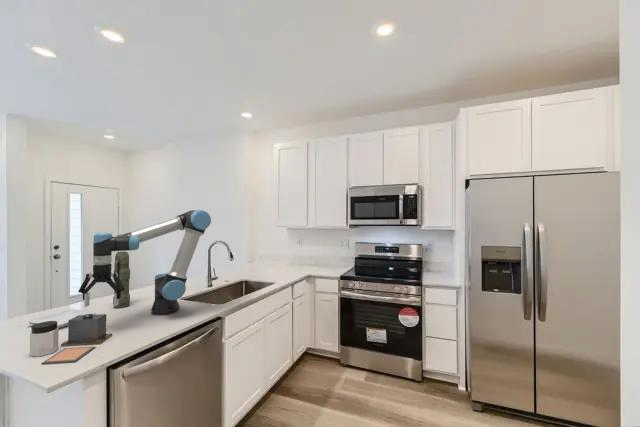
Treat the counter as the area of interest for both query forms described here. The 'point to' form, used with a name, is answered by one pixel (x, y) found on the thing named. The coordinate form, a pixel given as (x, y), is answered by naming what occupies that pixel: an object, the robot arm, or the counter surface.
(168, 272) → the robot arm
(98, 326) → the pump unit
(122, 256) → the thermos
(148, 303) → the counter surface
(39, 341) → the jar
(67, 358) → the mat
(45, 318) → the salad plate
